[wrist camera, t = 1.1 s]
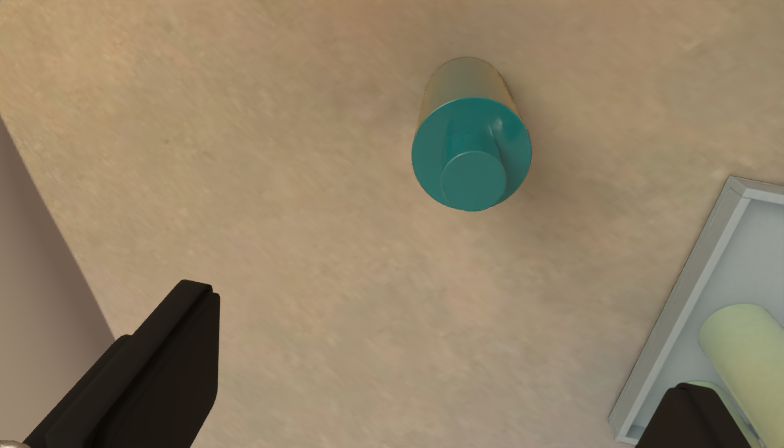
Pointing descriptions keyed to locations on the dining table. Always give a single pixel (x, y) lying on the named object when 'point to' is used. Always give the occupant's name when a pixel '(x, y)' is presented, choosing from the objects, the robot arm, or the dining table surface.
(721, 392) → the bottle
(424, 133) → the loose bottle
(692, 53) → the dining table surface
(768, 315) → the bottle
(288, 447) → the dining table surface
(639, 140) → the dining table surface
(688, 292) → the tray
